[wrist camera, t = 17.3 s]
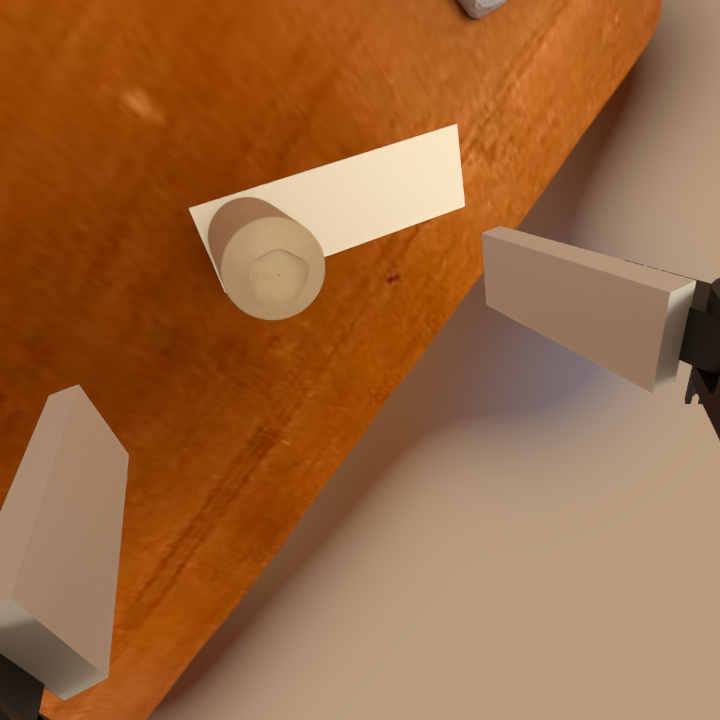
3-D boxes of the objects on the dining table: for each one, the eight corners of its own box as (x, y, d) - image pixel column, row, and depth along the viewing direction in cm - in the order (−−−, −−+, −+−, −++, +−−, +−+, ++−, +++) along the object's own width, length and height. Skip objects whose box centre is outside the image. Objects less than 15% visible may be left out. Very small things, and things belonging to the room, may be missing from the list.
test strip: (225, 292, 31) (225, 293, 31) (188, 208, 28) (188, 208, 28) (463, 205, 35) (465, 206, 35) (455, 123, 32) (457, 123, 32)
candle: (272, 184, 29) (315, 205, 21) (299, 261, 32) (346, 306, 24) (192, 212, 28) (203, 245, 20) (227, 289, 31) (250, 346, 23)
